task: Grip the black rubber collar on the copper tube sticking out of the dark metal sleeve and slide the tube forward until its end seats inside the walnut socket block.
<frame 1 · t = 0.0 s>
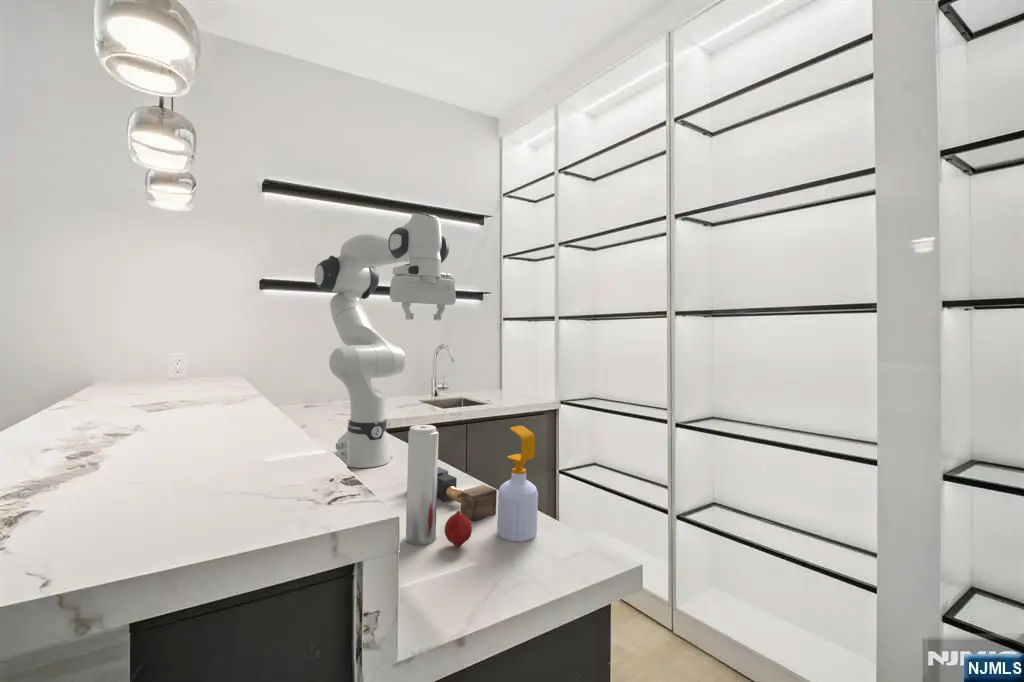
hand: (423, 320, 135), 48 cm above the counter, tool pointing down, fingers open, 8 cm apart
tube: (441, 485, 130), point 3 cm above the counter, slide at 0.0 cm
silver metal cylinder: (420, 539, 106), on the counter
sleeve: (430, 492, 134), on the counter
socket: (478, 515, 119), on the counter
soap bottle: (516, 534, 110), on the counter
onion: (457, 547, 103), on the counter
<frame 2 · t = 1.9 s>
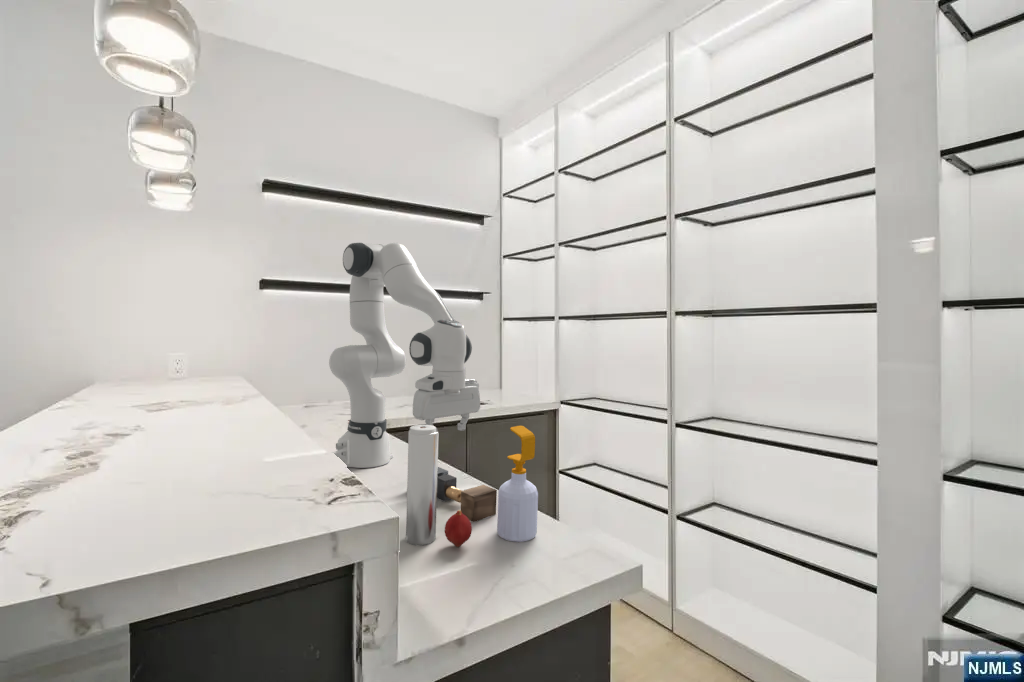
hand: (447, 432, 128), 18 cm above the counter, tool pointing down, fingers open, 8 cm apart
nothing on the counter moved.
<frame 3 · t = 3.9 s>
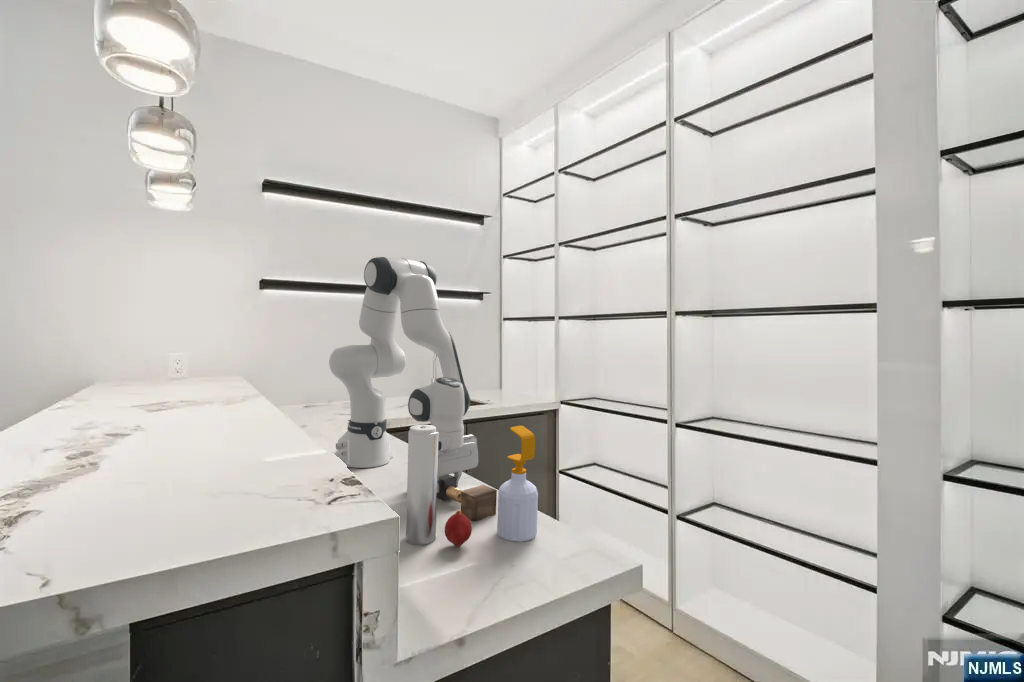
hand: (445, 489, 129), 3 cm above the counter, tool pointing down, fingers closed on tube, 4 cm apart
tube: (441, 485, 130), point 3 cm above the counter, slide at 0.0 cm, touching gripper
everything else where it was.
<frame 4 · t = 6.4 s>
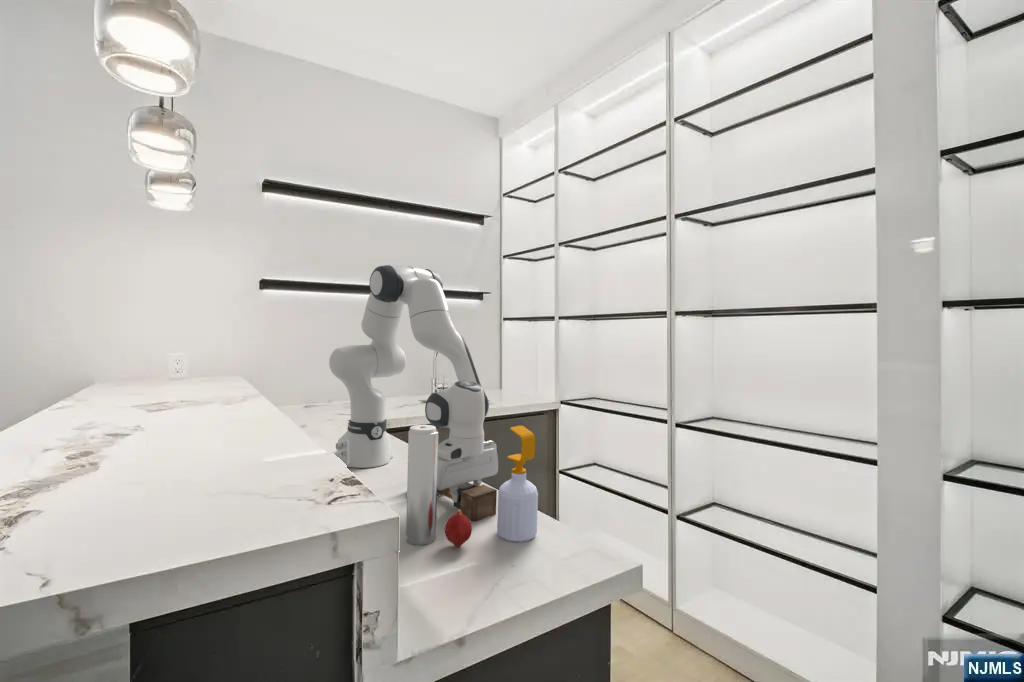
hand: (464, 498, 123), 3 cm above the counter, tool pointing down, fingers closed on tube, 4 cm apart
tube: (459, 493, 125), point 3 cm above the counter, slide at 8.0 cm, touching gripper
everything else where it was.
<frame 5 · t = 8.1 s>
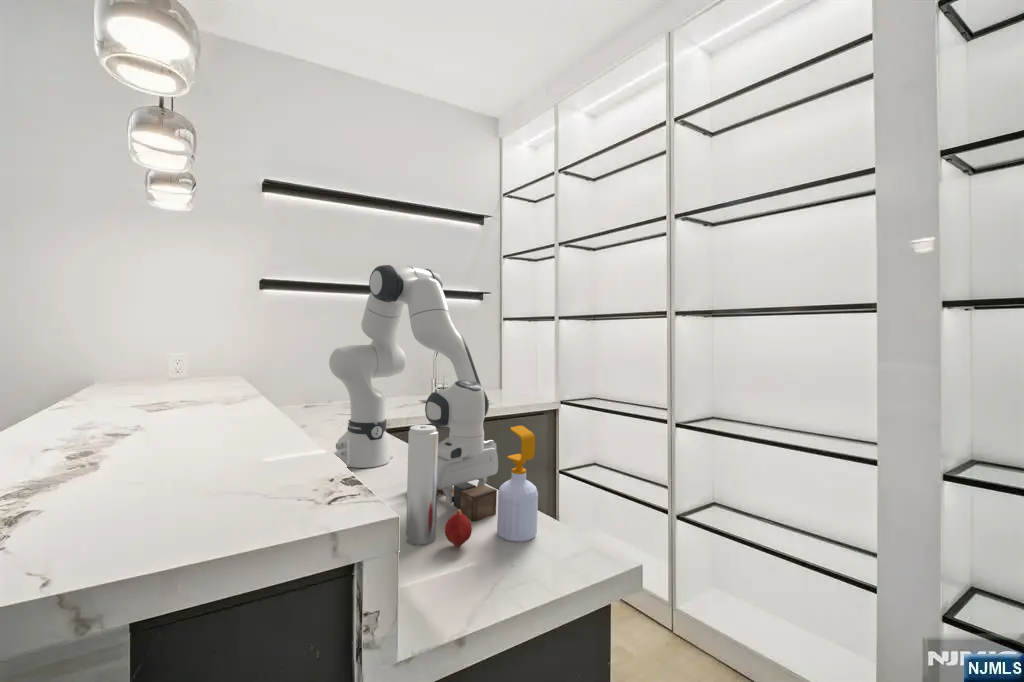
hand: (464, 498, 123), 3 cm above the counter, tool pointing down, fingers open, 8 cm apart
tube: (459, 493, 125), point 3 cm above the counter, slide at 8.0 cm
everything else where it was.
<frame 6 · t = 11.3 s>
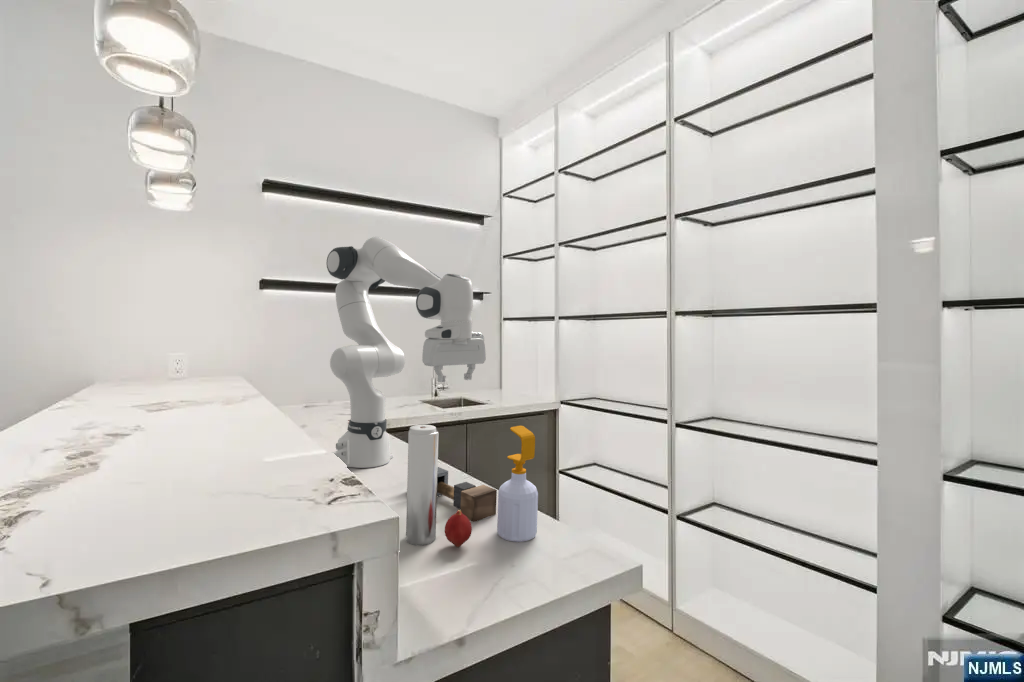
hand: (454, 380, 135), 31 cm above the counter, tool pointing down, fingers open, 8 cm apart
nothing on the counter moved.
at the end: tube slide at 8.0 cm; the gripper is holding nothing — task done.
